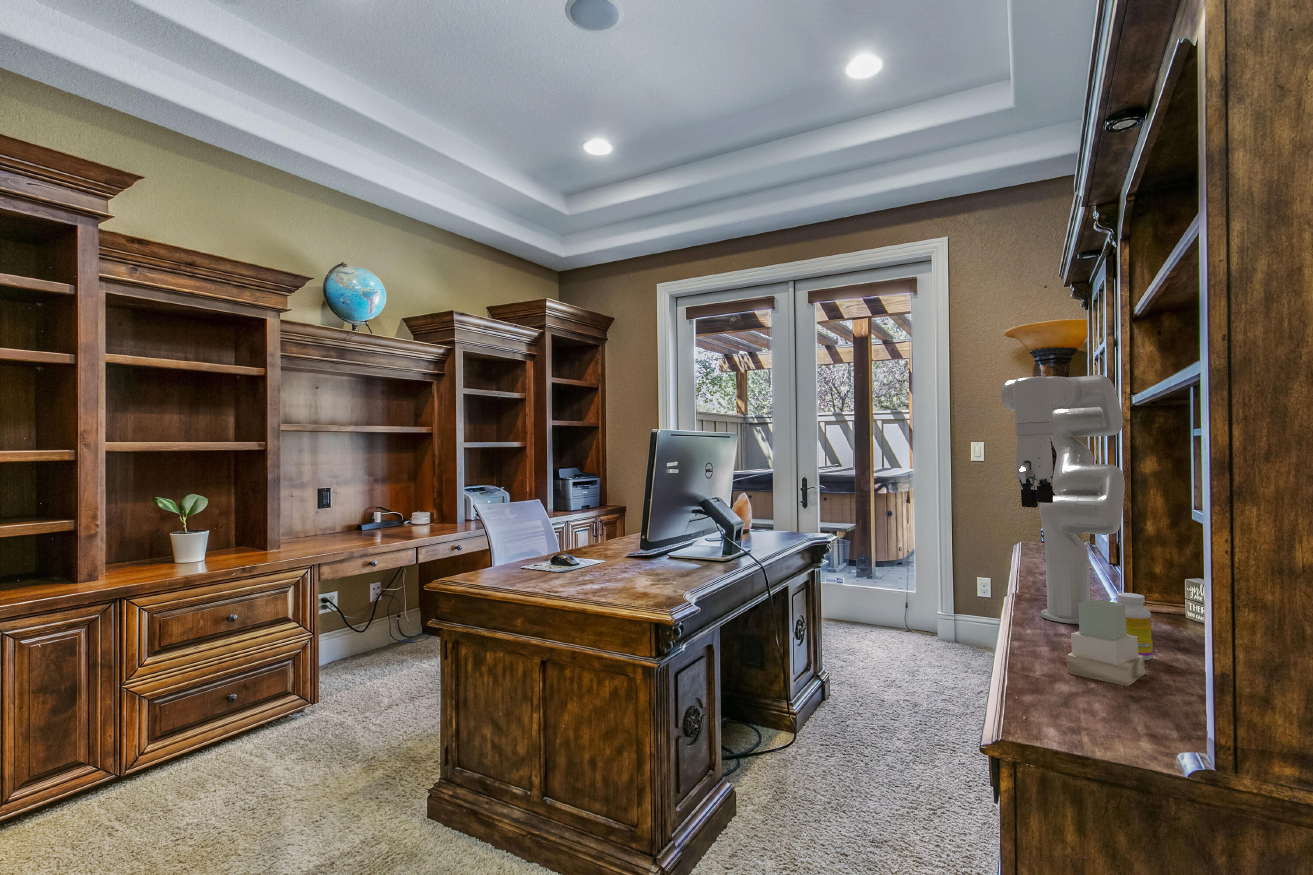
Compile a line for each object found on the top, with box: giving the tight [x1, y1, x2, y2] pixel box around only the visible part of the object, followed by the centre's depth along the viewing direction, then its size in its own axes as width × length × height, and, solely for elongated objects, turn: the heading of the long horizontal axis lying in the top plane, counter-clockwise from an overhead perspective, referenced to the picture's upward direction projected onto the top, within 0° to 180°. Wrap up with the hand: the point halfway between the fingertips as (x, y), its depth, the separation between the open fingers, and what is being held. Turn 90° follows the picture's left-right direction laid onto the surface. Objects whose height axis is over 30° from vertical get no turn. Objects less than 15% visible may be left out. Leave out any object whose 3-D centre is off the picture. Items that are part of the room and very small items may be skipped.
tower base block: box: [1066, 651, 1146, 687], centre depth 127 cm, size 10×10×4 cm
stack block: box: [1078, 598, 1127, 641], centre depth 127 cm, size 6×6×6 cm
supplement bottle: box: [1116, 592, 1154, 661], centre depth 136 cm, size 7×7×13 cm
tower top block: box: [1070, 630, 1138, 665], centre depth 126 cm, size 8×8×4 cm
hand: (1037, 504), depth 149 cm, fingers open, 9 cm apart
